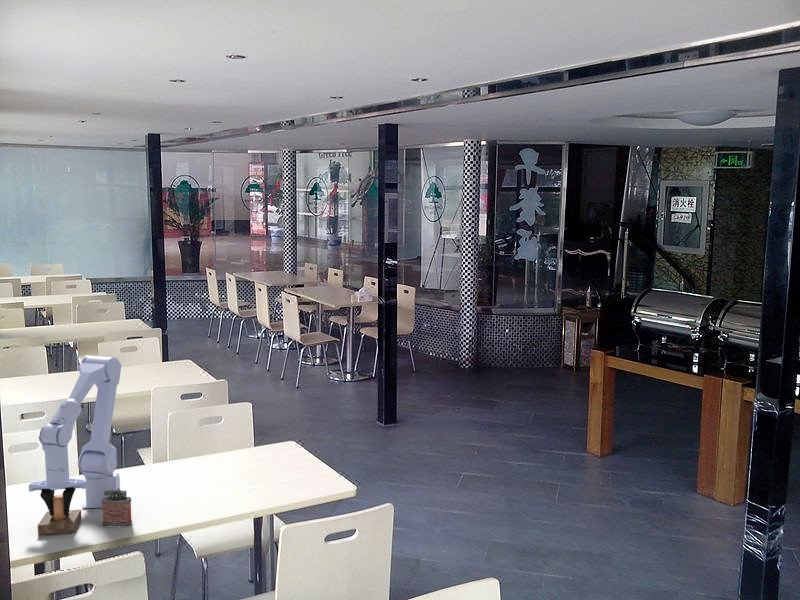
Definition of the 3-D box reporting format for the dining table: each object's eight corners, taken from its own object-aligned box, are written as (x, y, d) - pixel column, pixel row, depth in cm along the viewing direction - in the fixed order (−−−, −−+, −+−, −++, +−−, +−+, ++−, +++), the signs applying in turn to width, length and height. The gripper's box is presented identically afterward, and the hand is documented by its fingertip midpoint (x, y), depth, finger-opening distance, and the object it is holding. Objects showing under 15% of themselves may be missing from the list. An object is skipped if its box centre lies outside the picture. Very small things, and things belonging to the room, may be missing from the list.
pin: (67, 521, 211) (66, 494, 210) (65, 526, 208) (64, 498, 207) (55, 522, 211) (53, 495, 210) (52, 527, 208) (51, 499, 206)
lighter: (133, 521, 214) (132, 487, 213) (130, 526, 211) (128, 492, 209) (104, 521, 214) (103, 487, 212) (100, 526, 210) (99, 492, 209)
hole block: (81, 519, 215) (80, 509, 214) (73, 533, 206) (73, 523, 206) (47, 521, 213) (46, 511, 213) (38, 535, 204) (37, 525, 204)
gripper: (24, 473, 202) (27, 521, 204) (81, 470, 205) (84, 518, 206) (32, 464, 209) (34, 511, 211) (87, 461, 211) (89, 508, 213)
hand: (59, 514), depth 209 cm, fingers closed on pin, 3 cm apart
